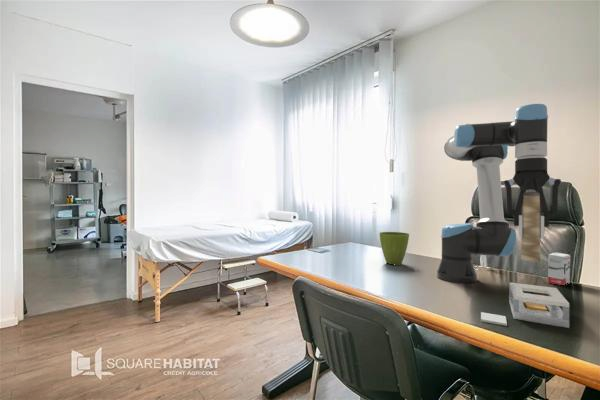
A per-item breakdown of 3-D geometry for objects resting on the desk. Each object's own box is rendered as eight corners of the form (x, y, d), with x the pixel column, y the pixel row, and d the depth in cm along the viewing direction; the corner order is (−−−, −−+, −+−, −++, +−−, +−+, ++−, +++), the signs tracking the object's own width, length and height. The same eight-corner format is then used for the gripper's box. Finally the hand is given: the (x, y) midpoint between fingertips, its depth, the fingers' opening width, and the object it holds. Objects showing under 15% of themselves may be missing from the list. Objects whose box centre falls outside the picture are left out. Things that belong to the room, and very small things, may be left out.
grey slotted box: (513, 318, 85) (513, 295, 85) (509, 301, 99) (509, 282, 99) (569, 328, 79) (569, 303, 79) (556, 308, 93) (556, 287, 93)
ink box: (563, 286, 116) (563, 256, 116) (547, 283, 121) (547, 254, 121) (570, 283, 121) (570, 253, 121) (555, 280, 125) (555, 252, 125)
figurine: (469, 267, 148) (469, 243, 148) (478, 265, 152) (478, 242, 152) (488, 271, 140) (488, 246, 140) (497, 269, 145) (497, 244, 145)
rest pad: (480, 321, 84) (480, 319, 84) (480, 314, 89) (480, 312, 89) (507, 325, 80) (507, 323, 80) (505, 318, 86) (505, 316, 86)
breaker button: (527, 314, 88) (527, 306, 88) (525, 309, 92) (525, 301, 92) (547, 317, 86) (547, 309, 86) (544, 312, 90) (544, 304, 90)
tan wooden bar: (522, 260, 87) (522, 192, 87) (520, 258, 91) (520, 192, 91) (541, 262, 85) (541, 191, 85) (538, 259, 89) (538, 192, 89)
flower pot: (388, 259, 167) (388, 231, 167) (414, 263, 156) (414, 233, 156) (373, 263, 157) (373, 233, 157) (400, 268, 146) (400, 235, 146)
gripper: (496, 158, 89) (496, 237, 89) (573, 154, 81) (573, 241, 81) (494, 161, 96) (494, 234, 96) (566, 157, 87) (565, 238, 87)
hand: (530, 237), depth 88 cm, fingers closed on tan wooden bar, 4 cm apart
